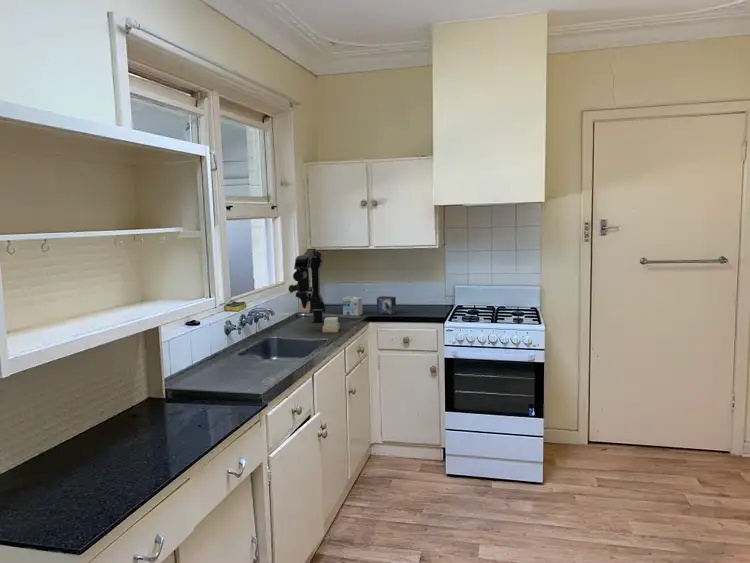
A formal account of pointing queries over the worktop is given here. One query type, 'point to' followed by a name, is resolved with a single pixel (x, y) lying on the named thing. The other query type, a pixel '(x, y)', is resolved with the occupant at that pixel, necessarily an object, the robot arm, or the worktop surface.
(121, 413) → the worktop surface
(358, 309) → the light bulb box
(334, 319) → the tower top
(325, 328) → the tower base
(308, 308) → the terracotta cube
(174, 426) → the worktop surface
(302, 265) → the robot arm
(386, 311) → the small box
